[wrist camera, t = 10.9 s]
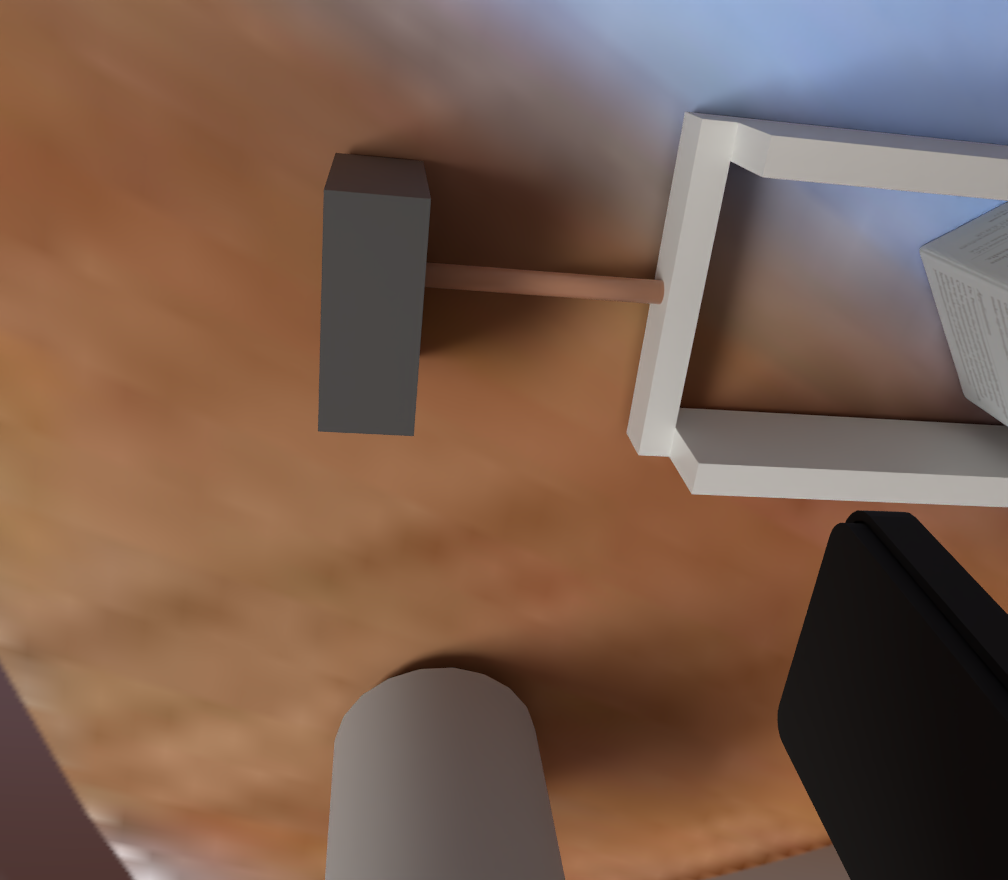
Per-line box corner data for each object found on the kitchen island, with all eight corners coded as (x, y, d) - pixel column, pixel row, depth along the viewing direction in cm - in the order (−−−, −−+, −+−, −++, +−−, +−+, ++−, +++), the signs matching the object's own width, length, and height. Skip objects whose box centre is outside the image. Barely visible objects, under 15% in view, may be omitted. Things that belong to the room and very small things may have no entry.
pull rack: (338, 75, 24) (323, 99, 19) (1194, 164, 28) (1383, 206, 23) (327, 417, 29) (314, 516, 23) (1074, 455, 33) (1209, 547, 27)
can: (567, 689, 35) (647, 997, 24) (474, 821, 38) (509, 1154, 27) (389, 624, 33) (390, 932, 22) (302, 769, 35) (266, 1109, 25)
